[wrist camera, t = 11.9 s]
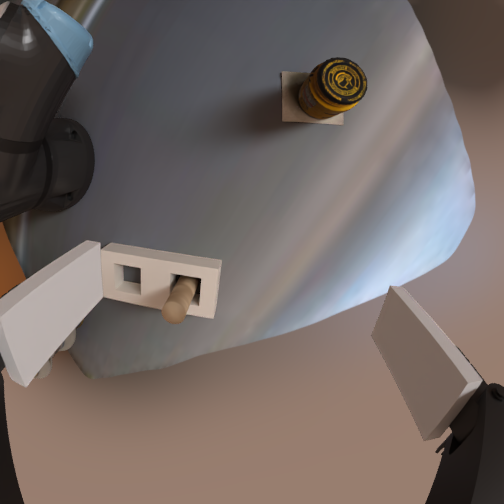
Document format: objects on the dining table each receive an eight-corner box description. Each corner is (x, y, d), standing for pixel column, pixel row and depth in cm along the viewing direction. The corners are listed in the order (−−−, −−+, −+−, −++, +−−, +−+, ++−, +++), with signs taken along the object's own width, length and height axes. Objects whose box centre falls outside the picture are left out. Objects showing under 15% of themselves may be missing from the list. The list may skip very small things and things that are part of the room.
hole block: (112, 287, 44) (103, 297, 41) (110, 242, 42) (100, 249, 38) (216, 306, 45) (213, 318, 42) (221, 259, 42) (218, 269, 39)
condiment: (343, 125, 36) (376, 115, 24) (282, 121, 36) (293, 107, 24) (341, 77, 33) (373, 51, 22) (281, 72, 33) (291, 40, 22)
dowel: (179, 286, 44) (161, 321, 35) (180, 269, 43) (161, 301, 34) (198, 289, 44) (184, 325, 35) (199, 272, 43) (185, 305, 34)
